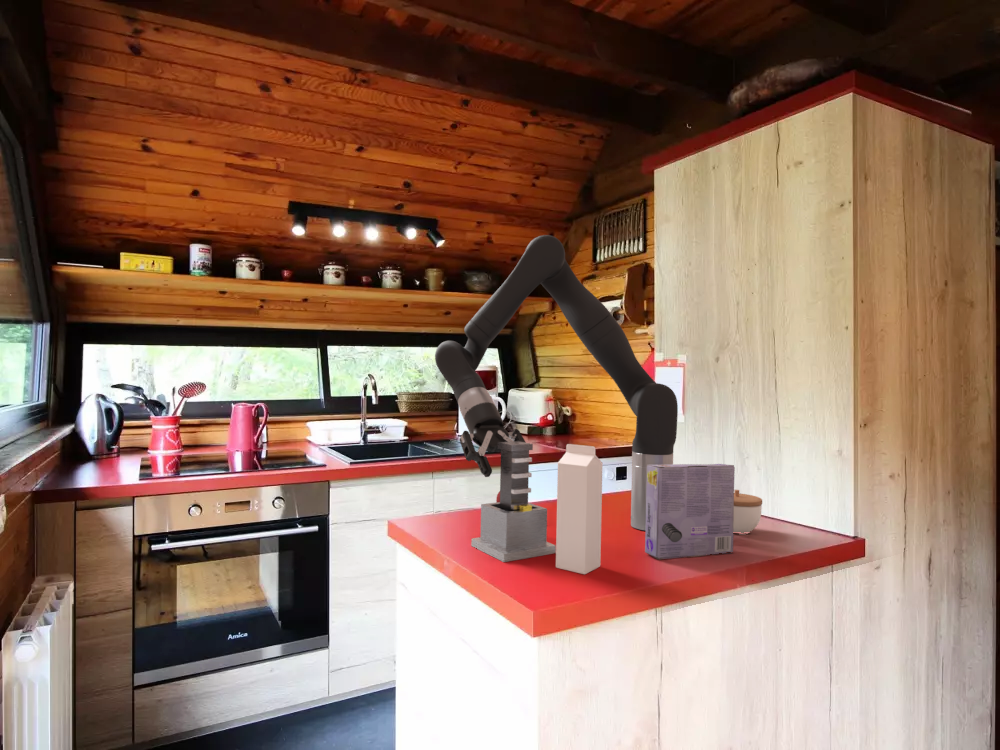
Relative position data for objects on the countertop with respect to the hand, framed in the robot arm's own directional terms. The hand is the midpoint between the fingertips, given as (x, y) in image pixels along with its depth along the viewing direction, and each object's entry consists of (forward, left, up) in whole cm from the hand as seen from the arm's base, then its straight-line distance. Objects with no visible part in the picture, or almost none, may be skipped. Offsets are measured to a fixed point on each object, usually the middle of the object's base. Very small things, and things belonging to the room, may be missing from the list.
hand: (507, 473), depth 122 cm
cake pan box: (-37, -3, -15) cm, 40 cm away
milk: (-15, +10, -15) cm, 23 cm away
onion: (+3, -27, -15) cm, 31 cm away
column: (-2, +2, -13) cm, 13 cm away
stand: (-2, +2, -15) cm, 15 cm away
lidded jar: (-50, -24, -15) cm, 57 cm away
